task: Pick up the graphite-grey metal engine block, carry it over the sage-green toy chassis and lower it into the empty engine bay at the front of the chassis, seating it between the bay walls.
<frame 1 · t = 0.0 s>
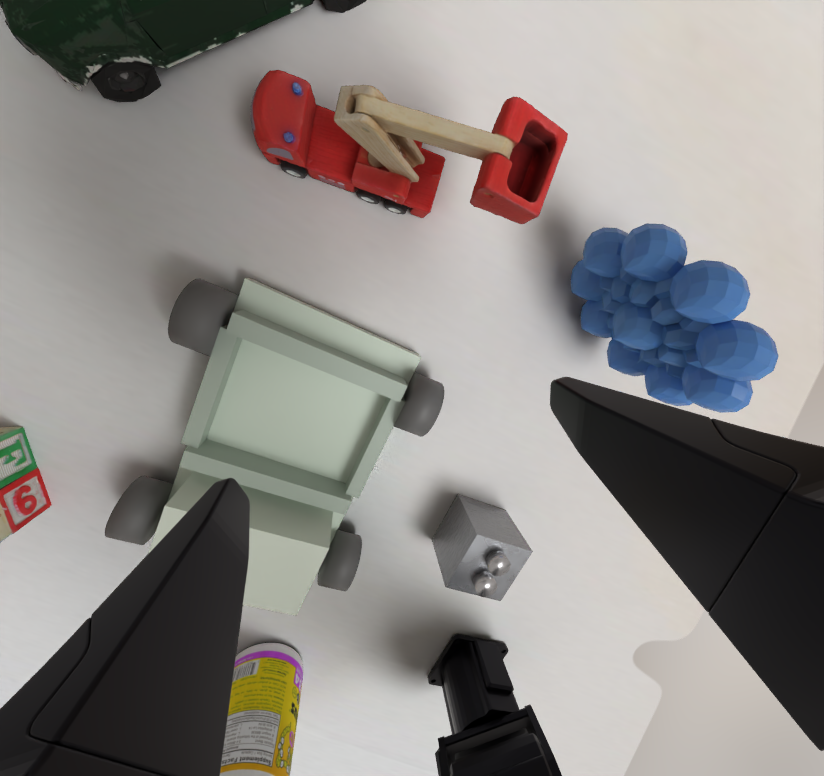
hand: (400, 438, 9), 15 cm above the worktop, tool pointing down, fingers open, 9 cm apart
toy fire truck: (380, 179, 21), on the worktop
chassis: (288, 442, 25), on the worktop
supplement bottle: (268, 662, 31), on the worktop
grapes: (596, 305, 26), on the worktop
engine block: (468, 524, 30), on the worktop
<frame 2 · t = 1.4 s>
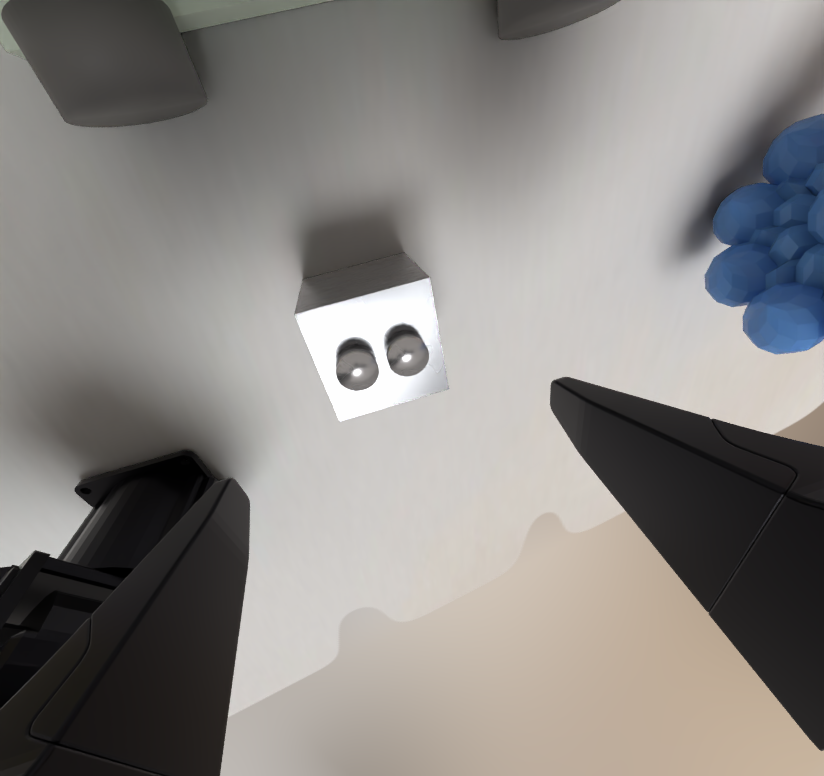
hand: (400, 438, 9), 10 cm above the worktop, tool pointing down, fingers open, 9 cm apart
grapes: (729, 214, 19), on the worktop
engine block: (368, 313, 18), on the worktop
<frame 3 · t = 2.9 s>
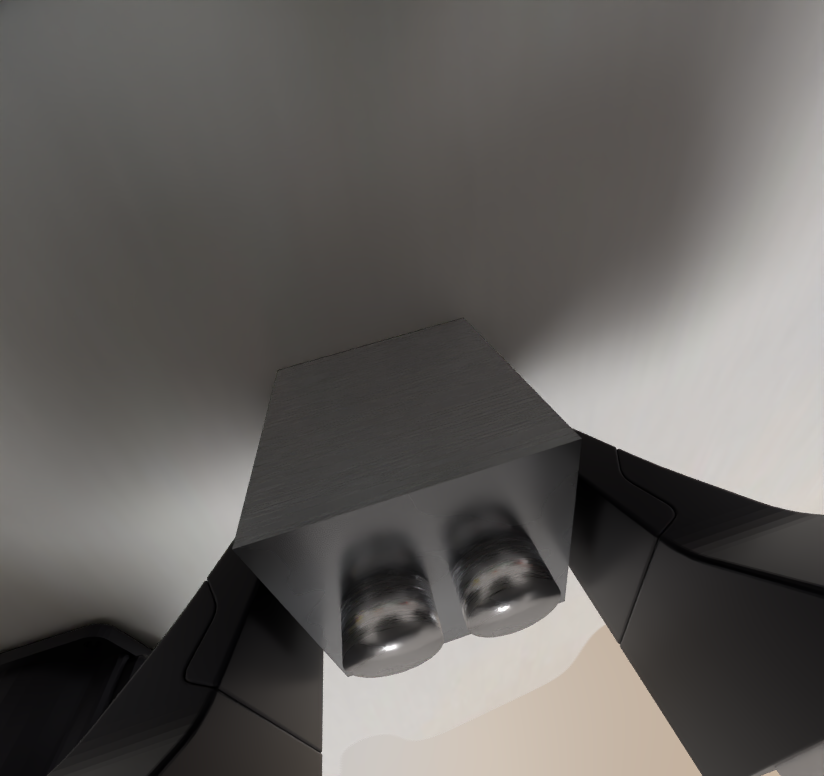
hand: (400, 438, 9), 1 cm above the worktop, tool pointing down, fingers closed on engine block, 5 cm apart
engine block: (394, 417, 10), on the worktop, touching gripper
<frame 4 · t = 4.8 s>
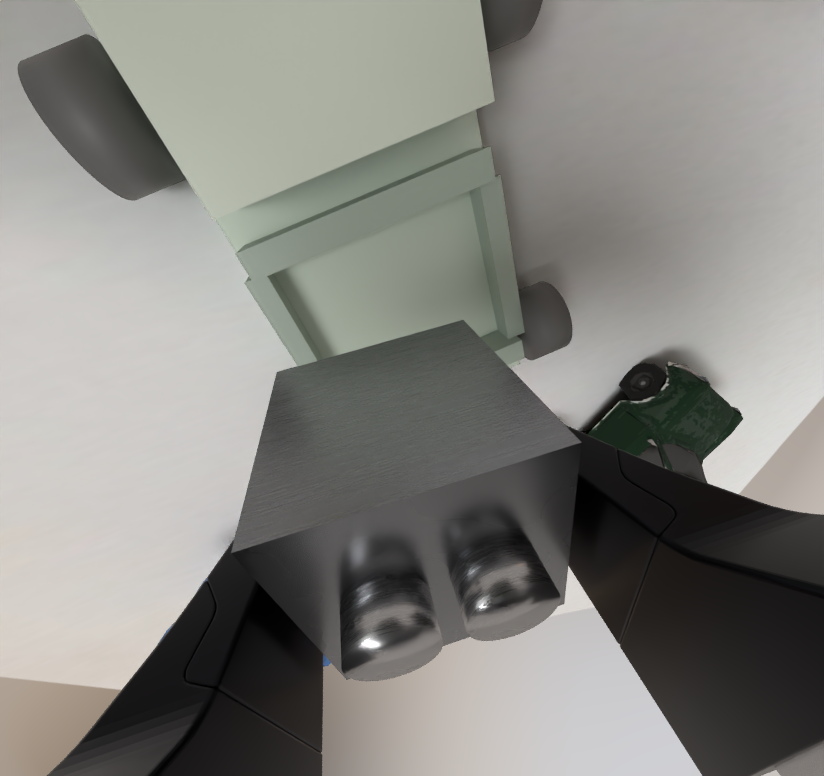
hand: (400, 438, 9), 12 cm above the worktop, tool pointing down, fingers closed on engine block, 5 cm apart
chassis: (373, 242, 17), on the worktop
miniature car: (598, 441, 31), on the worktop
engine block: (393, 418, 10), point 11 cm above the worktop, touching gripper
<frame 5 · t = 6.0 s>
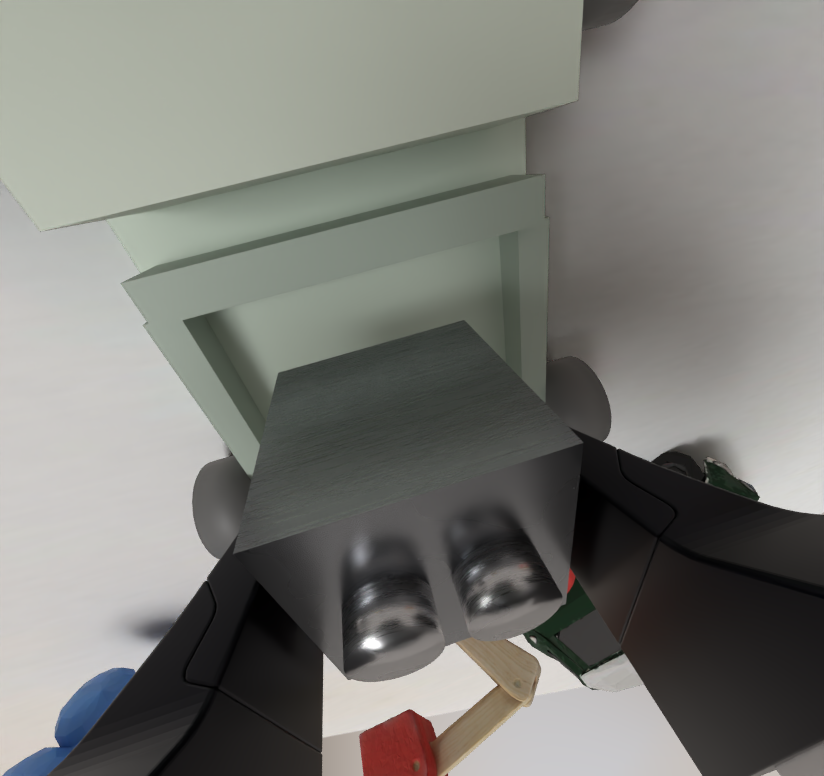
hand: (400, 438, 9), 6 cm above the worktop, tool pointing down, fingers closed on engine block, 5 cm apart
toy fire truck: (451, 549, 23), on the worktop
chassis: (357, 280, 12), on the worktop
miniature car: (600, 528, 26), on the worktop
grapes: (188, 636, 22), on the worktop
engine block: (394, 418, 10), point 5 cm above the worktop, touching gripper
when the fingers open (4 cm above the worktop, at t = 6.8 s): engine block drops 1 cm, resting on chassis.
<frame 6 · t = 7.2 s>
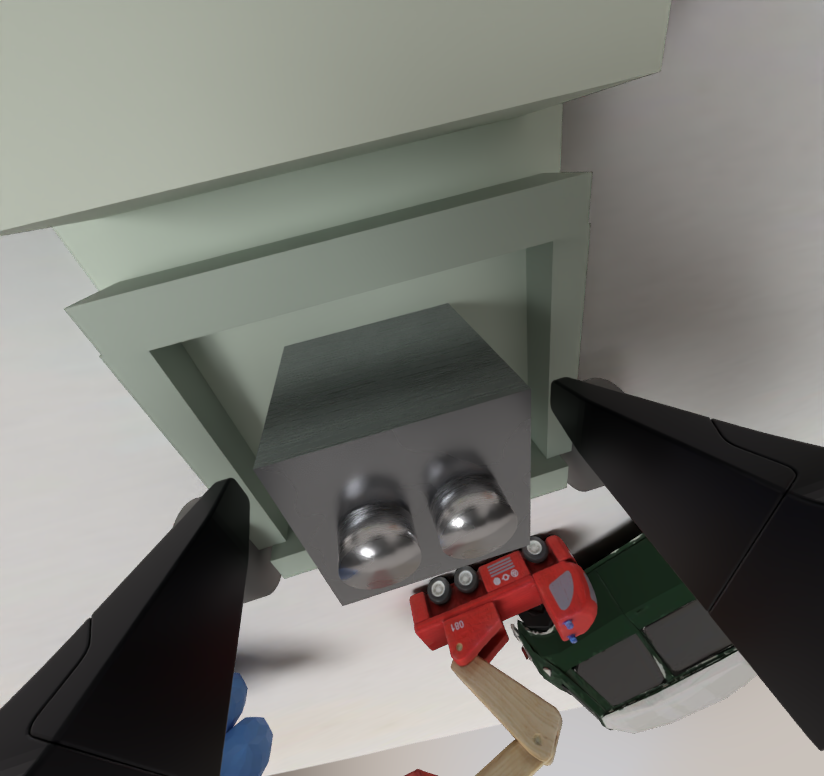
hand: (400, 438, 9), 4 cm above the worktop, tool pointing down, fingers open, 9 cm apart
toy fire truck: (459, 577, 22), on the worktop
chassis: (360, 295, 11), on the worktop
miniature car: (617, 549, 25), on the worktop
grapes: (175, 673, 20), on the worktop
engine block: (386, 392, 11), point 1 cm above the worktop, touching chassis
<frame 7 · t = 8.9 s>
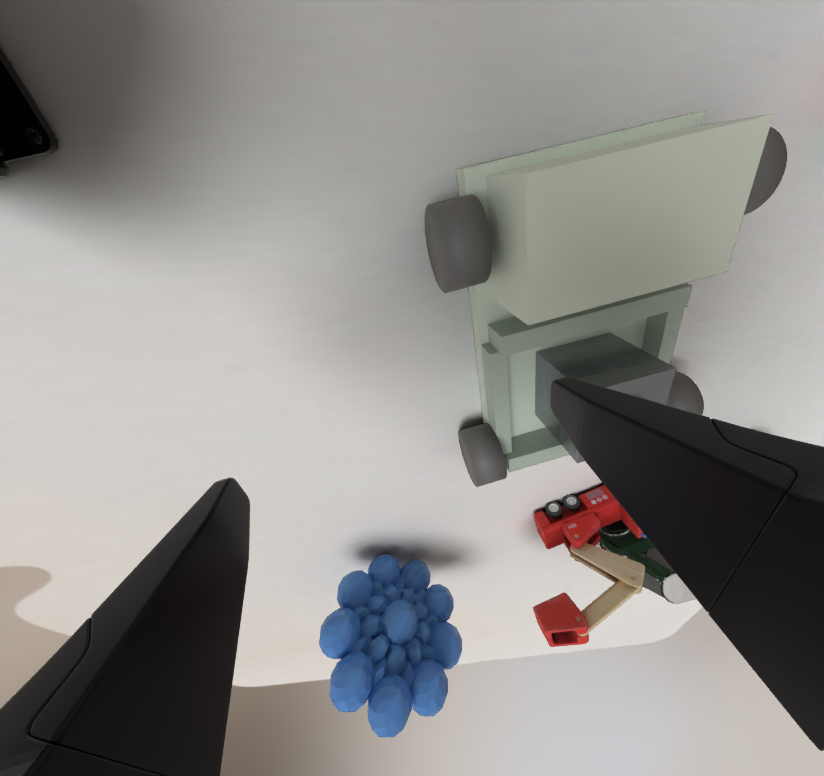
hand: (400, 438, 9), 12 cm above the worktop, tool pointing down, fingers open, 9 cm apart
toy fire truck: (562, 504, 33), on the worktop
chassis: (563, 327, 22), on the worktop
miniature car: (664, 492, 35), on the worktop
grapes: (381, 560, 32), on the worktop
engine block: (570, 375, 23), point 1 cm above the worktop, touching chassis
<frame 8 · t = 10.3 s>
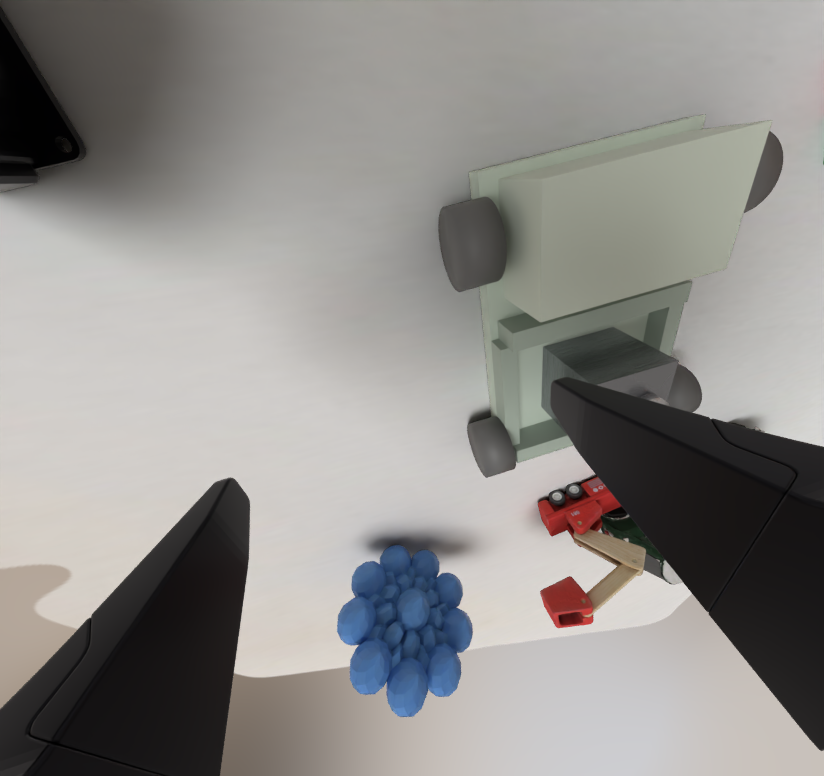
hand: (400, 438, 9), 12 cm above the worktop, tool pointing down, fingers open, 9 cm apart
toy fire truck: (565, 493, 34), on the worktop
chassis: (568, 322, 23), on the worktop
miniature car: (662, 479, 37), on the worktop
grapes: (391, 550, 32), on the worktop
engine block: (575, 368, 24), point 1 cm above the worktop, touching chassis
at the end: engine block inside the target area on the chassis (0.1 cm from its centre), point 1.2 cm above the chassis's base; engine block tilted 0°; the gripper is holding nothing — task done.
